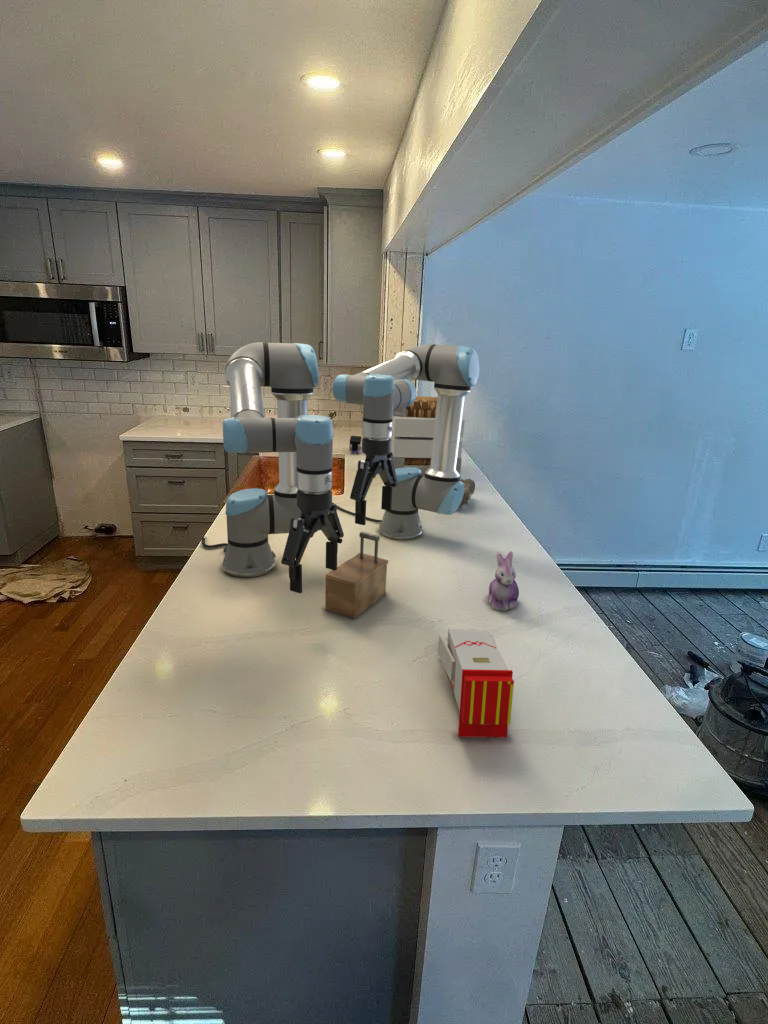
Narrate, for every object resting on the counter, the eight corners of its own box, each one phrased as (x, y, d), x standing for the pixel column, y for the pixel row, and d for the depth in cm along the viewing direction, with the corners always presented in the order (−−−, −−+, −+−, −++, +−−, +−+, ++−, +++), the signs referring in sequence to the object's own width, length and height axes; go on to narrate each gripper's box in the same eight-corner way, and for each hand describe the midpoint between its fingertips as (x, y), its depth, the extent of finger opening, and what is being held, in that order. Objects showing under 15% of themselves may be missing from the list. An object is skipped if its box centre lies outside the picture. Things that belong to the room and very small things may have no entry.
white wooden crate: (382, 463, 289) (386, 382, 275) (445, 464, 293) (451, 384, 279) (390, 482, 257) (394, 392, 243) (460, 483, 261) (468, 394, 247)
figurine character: (361, 457, 304) (361, 447, 317) (361, 444, 301) (362, 434, 314) (348, 456, 304) (349, 447, 317) (348, 443, 300) (349, 434, 314)
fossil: (439, 484, 243) (468, 465, 238) (451, 501, 246) (481, 483, 241) (438, 506, 224) (470, 486, 219) (452, 524, 226) (484, 505, 221)
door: (360, 555, 159) (361, 526, 156) (388, 563, 155) (389, 534, 152) (325, 577, 145) (325, 546, 142) (355, 586, 141) (356, 555, 138)
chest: (357, 585, 162) (358, 556, 159) (385, 593, 158) (387, 564, 155) (325, 608, 148) (325, 577, 145) (354, 618, 144) (355, 587, 141)
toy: (488, 613, 130) (523, 677, 101) (484, 667, 133) (517, 744, 104) (435, 612, 130) (455, 676, 101) (432, 666, 133) (451, 743, 103)
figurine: (500, 615, 149) (507, 563, 144) (477, 598, 157) (483, 548, 152) (528, 608, 153) (536, 557, 148) (504, 591, 161) (510, 543, 156)
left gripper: (292, 508, 109) (293, 606, 116) (359, 479, 129) (357, 564, 136) (262, 501, 112) (265, 597, 119) (332, 473, 133) (331, 556, 140)
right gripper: (363, 448, 131) (361, 533, 138) (412, 432, 152) (407, 506, 159) (336, 444, 134) (335, 527, 142) (387, 428, 155) (384, 501, 162)
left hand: (314, 579), depth 128 cm, fingers open, 13 cm apart
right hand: (373, 516), depth 150 cm, fingers open, 13 cm apart
